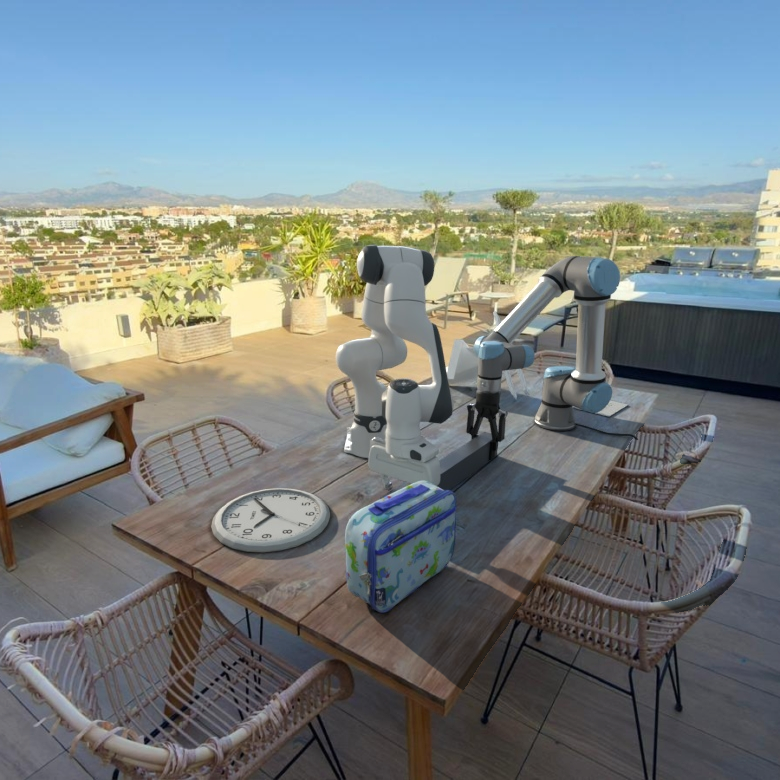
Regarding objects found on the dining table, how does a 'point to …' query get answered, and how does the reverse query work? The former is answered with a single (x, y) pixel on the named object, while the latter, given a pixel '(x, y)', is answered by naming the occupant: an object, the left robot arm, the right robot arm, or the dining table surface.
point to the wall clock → (270, 520)
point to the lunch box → (399, 543)
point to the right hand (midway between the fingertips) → (483, 456)
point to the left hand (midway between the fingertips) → (402, 494)
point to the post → (460, 462)
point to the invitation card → (610, 408)
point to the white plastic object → (474, 365)
